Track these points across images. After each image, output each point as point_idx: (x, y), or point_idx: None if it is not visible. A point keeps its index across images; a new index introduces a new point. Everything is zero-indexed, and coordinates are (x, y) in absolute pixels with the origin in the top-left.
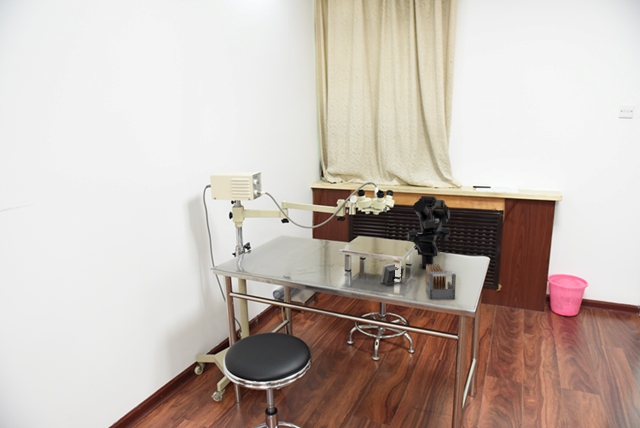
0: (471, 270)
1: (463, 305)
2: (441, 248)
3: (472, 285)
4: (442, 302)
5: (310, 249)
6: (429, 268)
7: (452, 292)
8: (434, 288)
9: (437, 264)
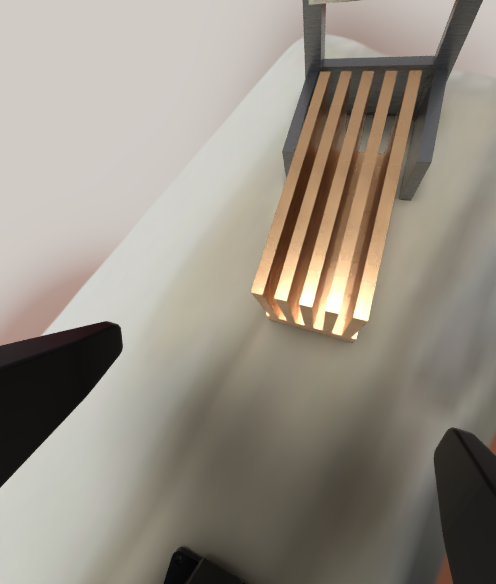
0: None
1: None
2: (98, 336)
3: (157, 224)
4: None
5: None
6: (385, 204)
7: None
8: (377, 158)
9: (265, 286)
